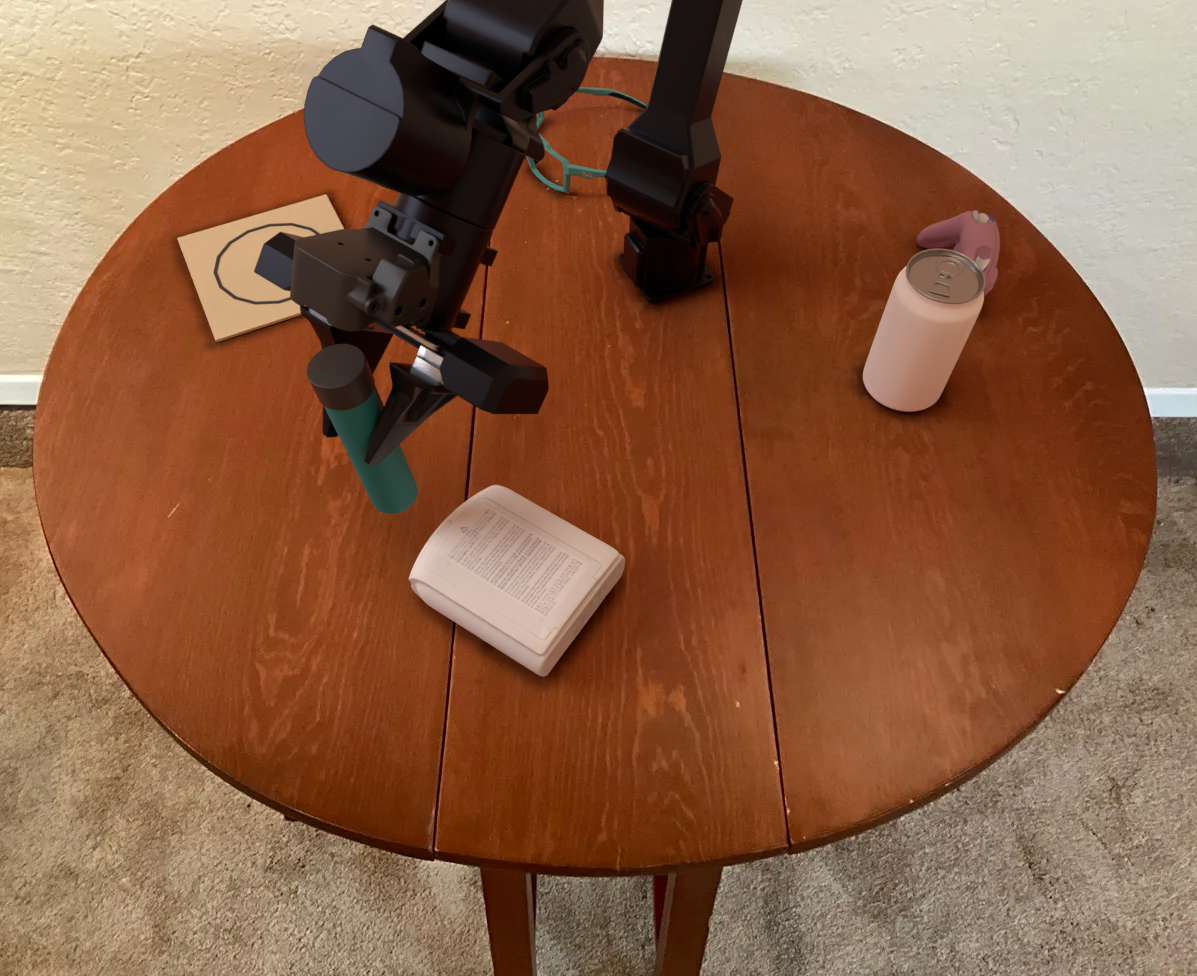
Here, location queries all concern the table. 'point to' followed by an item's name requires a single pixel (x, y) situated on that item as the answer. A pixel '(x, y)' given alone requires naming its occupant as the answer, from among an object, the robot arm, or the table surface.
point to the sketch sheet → (249, 266)
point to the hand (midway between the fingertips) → (349, 449)
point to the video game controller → (968, 240)
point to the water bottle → (360, 423)
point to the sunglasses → (567, 167)
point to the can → (924, 329)
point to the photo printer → (515, 575)
